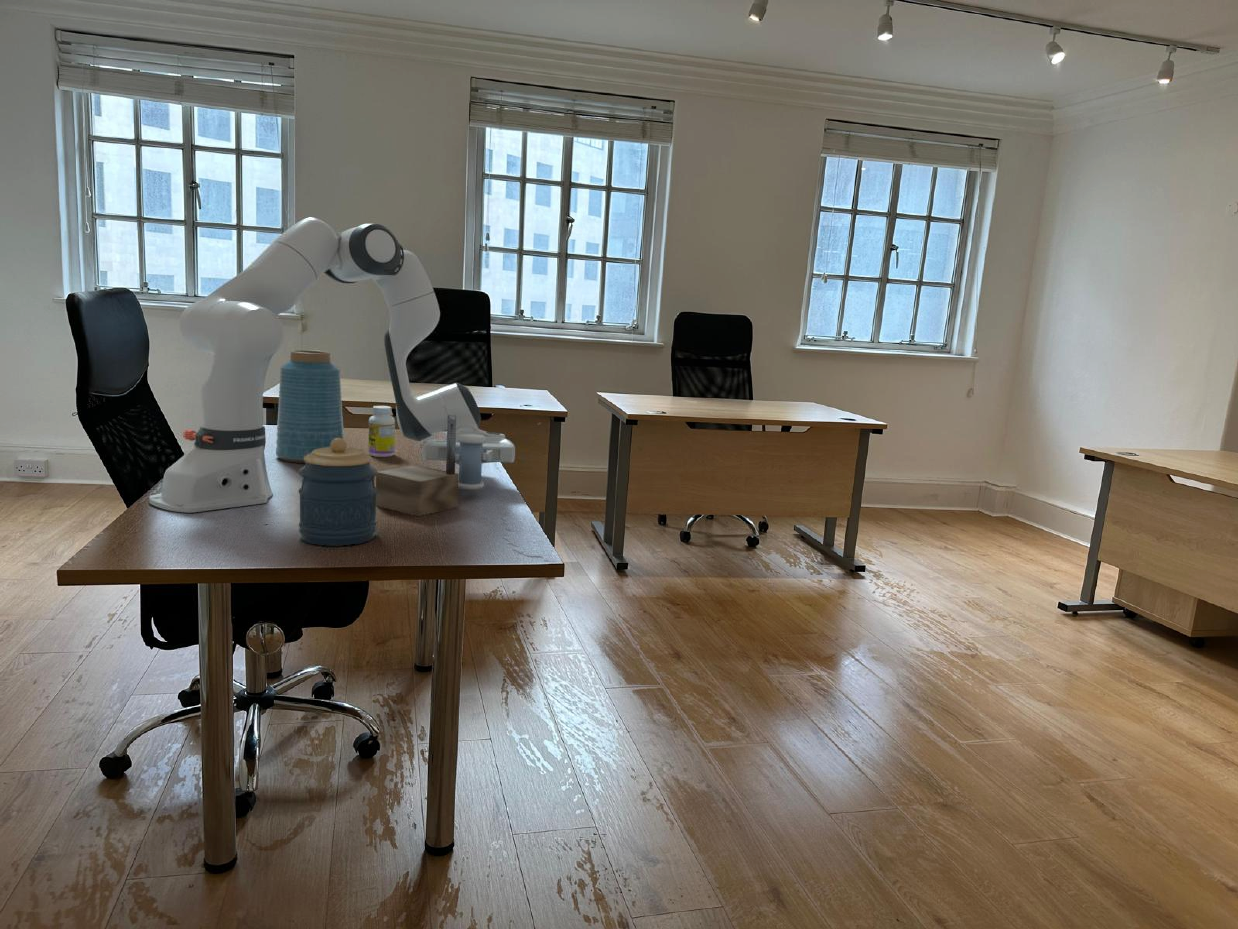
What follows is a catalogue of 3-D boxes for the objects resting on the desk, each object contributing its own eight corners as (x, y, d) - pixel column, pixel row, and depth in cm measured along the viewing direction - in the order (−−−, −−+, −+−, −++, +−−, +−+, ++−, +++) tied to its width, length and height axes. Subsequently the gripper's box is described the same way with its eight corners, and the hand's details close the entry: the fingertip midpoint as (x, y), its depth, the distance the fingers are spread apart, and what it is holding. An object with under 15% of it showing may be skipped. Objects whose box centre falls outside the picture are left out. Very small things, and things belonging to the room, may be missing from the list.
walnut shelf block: (418, 516, 165) (419, 481, 163) (375, 505, 171) (376, 471, 169) (457, 507, 174) (458, 473, 172) (415, 497, 180) (416, 464, 179)
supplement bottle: (366, 453, 223) (366, 405, 221) (391, 452, 226) (392, 405, 224) (371, 458, 218) (371, 408, 215) (397, 457, 221) (397, 408, 218)
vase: (274, 452, 216) (272, 347, 211) (340, 451, 223) (340, 350, 218) (277, 465, 202) (276, 353, 197) (348, 463, 209) (349, 355, 204)
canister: (333, 523, 156) (333, 429, 153) (391, 534, 152) (393, 437, 149) (282, 539, 144) (280, 438, 141) (343, 552, 140) (344, 447, 137)
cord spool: (470, 491, 178) (472, 439, 176) (449, 486, 181) (451, 435, 179) (489, 487, 183) (491, 437, 181) (468, 482, 186) (470, 433, 184)
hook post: (447, 478, 167) (448, 418, 165) (445, 472, 173) (447, 414, 171) (456, 478, 168) (458, 419, 165) (454, 472, 173) (456, 414, 171)
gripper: (420, 431, 190) (421, 441, 177) (511, 434, 195) (518, 444, 182) (419, 458, 191) (420, 471, 178) (509, 460, 196) (517, 473, 183)
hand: (471, 457), depth 180 cm, fingers closed on cord spool, 5 cm apart
